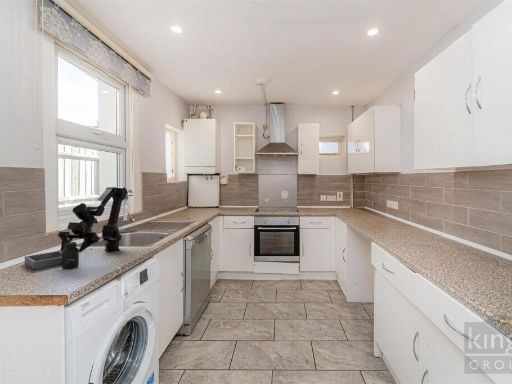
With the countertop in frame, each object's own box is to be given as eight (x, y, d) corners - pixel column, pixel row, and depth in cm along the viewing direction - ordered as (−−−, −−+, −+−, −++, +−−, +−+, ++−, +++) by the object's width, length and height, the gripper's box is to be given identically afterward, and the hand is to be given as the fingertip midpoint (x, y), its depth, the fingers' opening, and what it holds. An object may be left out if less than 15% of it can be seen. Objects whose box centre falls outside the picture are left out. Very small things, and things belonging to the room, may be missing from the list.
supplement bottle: (69, 270, 129) (68, 245, 129) (58, 268, 132) (58, 243, 131) (82, 266, 136) (82, 241, 135) (72, 264, 138) (71, 240, 138)
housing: (60, 257, 150) (60, 250, 149) (70, 263, 140) (70, 255, 140) (24, 264, 138) (24, 256, 138) (33, 270, 129) (33, 262, 128)
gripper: (60, 215, 139) (41, 241, 128) (95, 216, 137) (79, 243, 127) (72, 228, 147) (55, 254, 136) (105, 229, 145) (91, 255, 135)
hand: (70, 251), depth 133 cm, fingers open, 9 cm apart
